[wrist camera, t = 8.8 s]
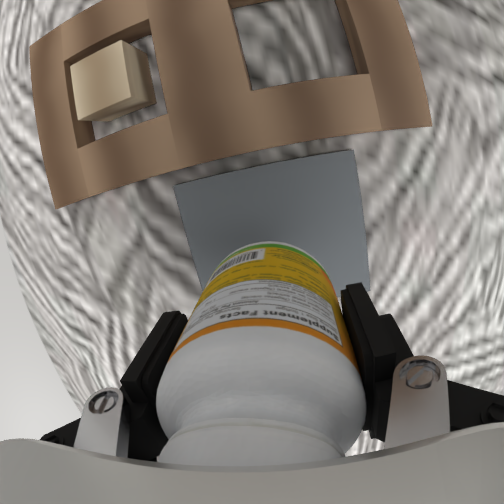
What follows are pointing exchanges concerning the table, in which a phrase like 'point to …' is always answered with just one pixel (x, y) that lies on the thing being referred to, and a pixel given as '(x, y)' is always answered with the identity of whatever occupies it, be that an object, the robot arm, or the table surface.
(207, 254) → the rubber mat
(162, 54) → the puzzle board
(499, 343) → the table surface
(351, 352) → the supplement bottle
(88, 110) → the maple block
